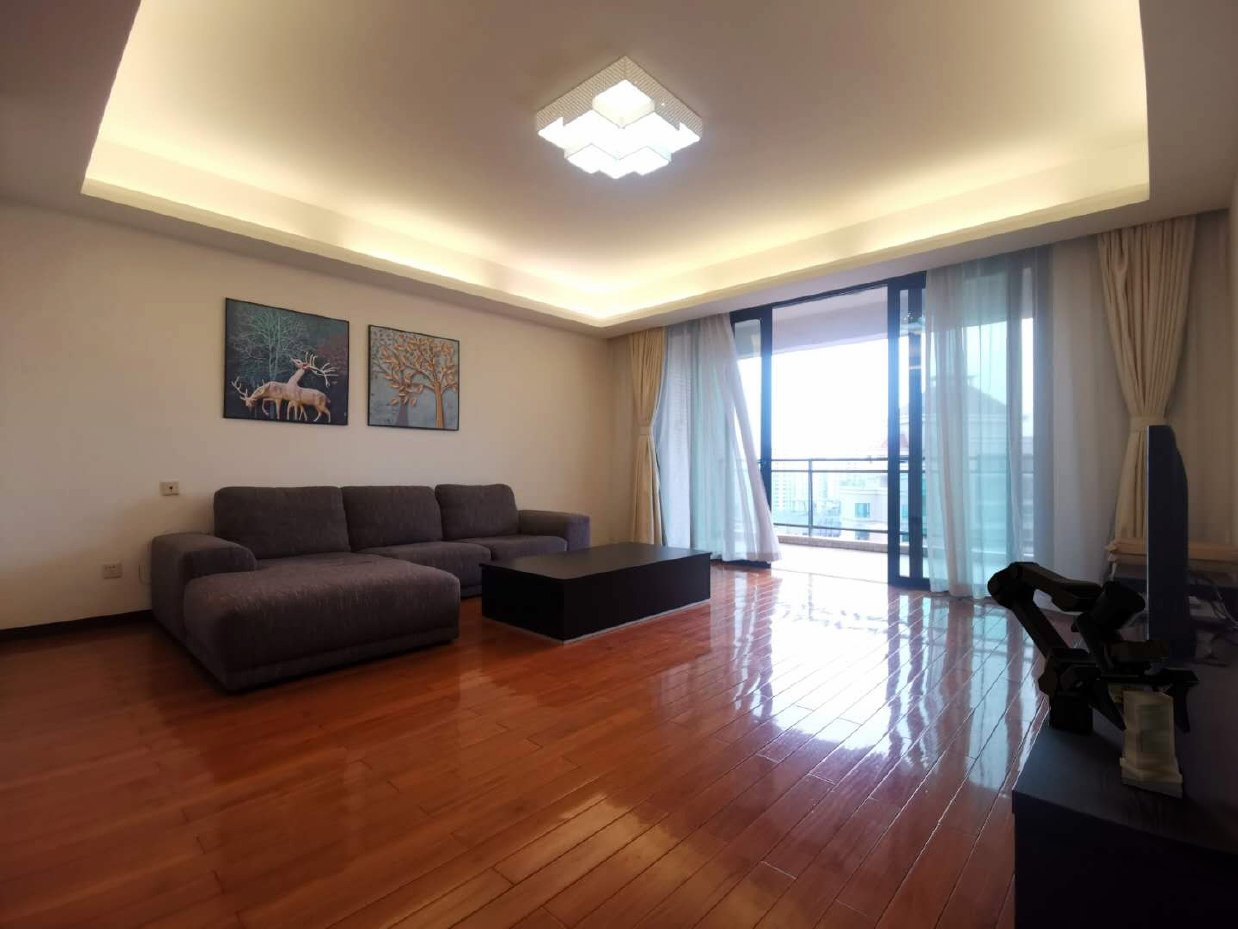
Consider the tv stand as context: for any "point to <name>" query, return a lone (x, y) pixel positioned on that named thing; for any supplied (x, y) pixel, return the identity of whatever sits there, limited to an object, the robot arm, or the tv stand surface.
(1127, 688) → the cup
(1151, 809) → the tv stand surface
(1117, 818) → the tv stand surface
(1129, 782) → the slate tile
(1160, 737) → the tapered block
